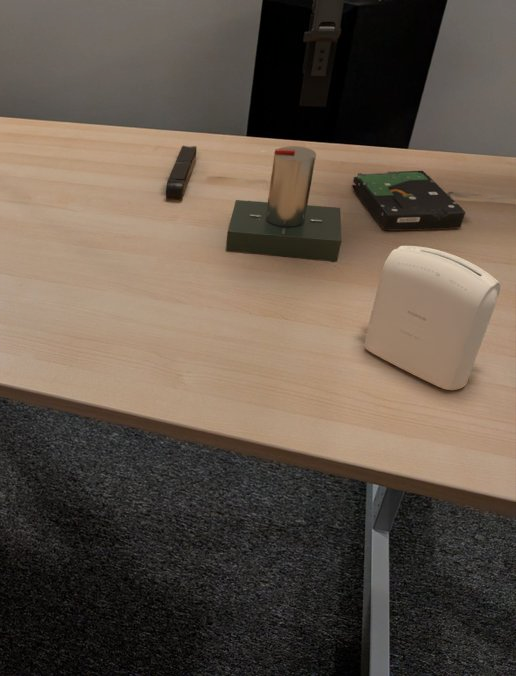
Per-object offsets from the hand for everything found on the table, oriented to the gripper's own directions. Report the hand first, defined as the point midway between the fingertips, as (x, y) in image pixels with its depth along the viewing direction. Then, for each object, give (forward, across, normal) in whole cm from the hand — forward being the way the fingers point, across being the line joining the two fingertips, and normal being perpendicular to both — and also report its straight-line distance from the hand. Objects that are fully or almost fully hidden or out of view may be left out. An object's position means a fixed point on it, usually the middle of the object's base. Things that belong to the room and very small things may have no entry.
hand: (313, 88), depth 75 cm
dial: (+17, -2, -1) cm, 18 cm away
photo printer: (+21, +23, +13) cm, 34 cm away
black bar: (+21, -20, -18) cm, 34 cm away
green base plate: (+20, -2, -1) cm, 21 cm away
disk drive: (+21, -15, +15) cm, 30 cm away
